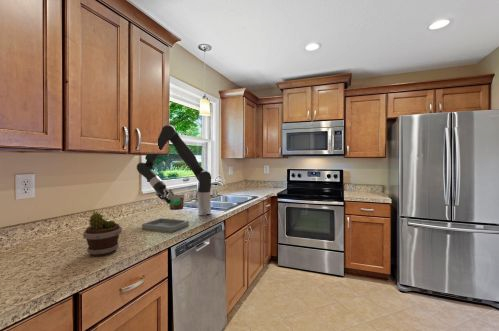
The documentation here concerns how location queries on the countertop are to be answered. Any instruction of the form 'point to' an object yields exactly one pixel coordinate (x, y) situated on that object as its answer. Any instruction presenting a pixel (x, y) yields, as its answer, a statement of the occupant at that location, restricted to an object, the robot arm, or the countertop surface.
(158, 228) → the tray
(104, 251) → the flowerpot
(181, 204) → the food container
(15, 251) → the countertop surface
